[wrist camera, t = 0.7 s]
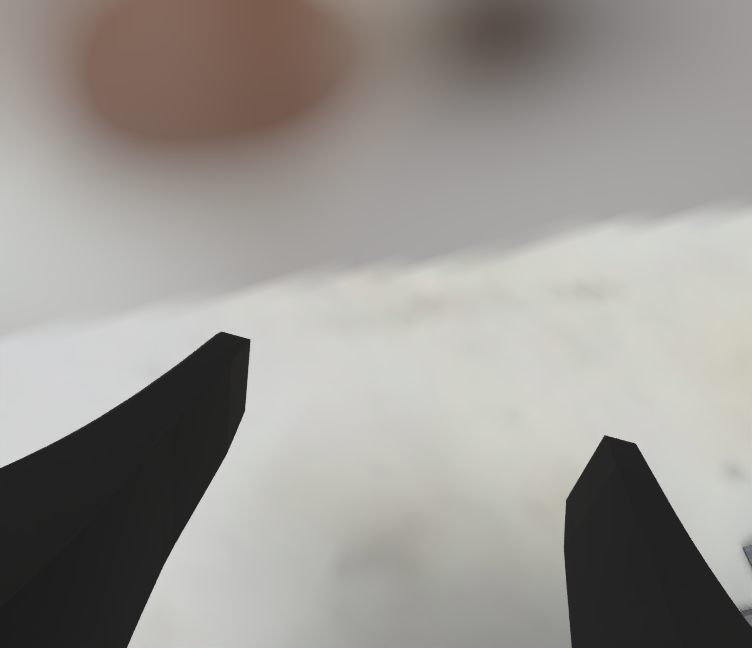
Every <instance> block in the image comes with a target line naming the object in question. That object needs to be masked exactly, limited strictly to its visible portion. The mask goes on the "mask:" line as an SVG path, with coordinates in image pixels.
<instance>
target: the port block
mask: <svg viewBox="0 0 752 648" xmlns="http://www.w3.org/2000/svg"><path fill="white" fill-rule="evenodd" d="M744 550H745V552H746V554H747V556H748V558H749V560H750V562H751V564H752V545H751V546H747V547H744Z"/></svg>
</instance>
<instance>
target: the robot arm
mask: <svg viewBox="0 0 752 648" xmlns="http://www.w3.org/2000/svg"><path fill="white" fill-rule="evenodd" d="M249 352H250V339H247V338H243V337H239V336H236V335H232V334H228V333H225V332H220V333H218V334H216V335H215V336H214V337H212V338H211V339H210V340H208V341H207V342H206V343H205V344H203V345H202V346H201V347H200V348H198V349H197V350H196V351H194V352H193V353H192V354H191V355H189V356H188V357H187V358H185V359H184V360H183V361H181V362H180V363H179V364H177V365H176V366H175V367H173V368H172V369H171V370H169V371H168V372H167V373H165V374H164V375H162V376H161V377H160V378H158V379H157V380H155V381H154V382H152V383H151V384H150V385H148V386H147V387H145V388H144V389H143V390H141V391H140V392H138V393H137V394H135V395H134V396H132V397H131V398H129V399H128V400H126V401H124V402H123V403H121V404H120V405H118V406H117V407H115V408H113V409H112V410H110V411H109V412H107V413H106V414H104V415H102V416H101V417H99V418H97V419H96V420H94V421H92V422H91V423H89V424H87V425H85V426H84V427H82V428H80V429H78V430H77V431H75V432H73V433H71V434H69V435H67V436H66V437H64V438H62V439H60V440H58V441H56V442H54V443H52V444H50V445H49V446H47V447H45V448H42V449H40V450H38V451H36V452H34V453H32V454H30V455H28V456H26V457H24V458H22V459H20V460H17V461H15V462H13V463H11V464H9V465H7V466H4V467H2V468H0V648H127V646H128V644H129V642H130V639H131V637H132V635H133V632H134V630H135V628H136V626H137V623H138V621H139V619H140V616H141V614H142V612H143V610H144V607H145V605H146V603H147V601H148V599H149V596H150V594H151V592H152V590H153V588H154V585H155V583H156V581H157V579H158V577H159V574H160V572H161V570H162V568H163V566H164V564H165V562H166V560H167V558H168V556H169V554H170V552H171V551H172V549H173V547H174V545H175V543H176V541H177V540H178V538H179V536H180V535H181V533H182V531H183V529H184V528H185V526H186V524H187V522H188V521H189V519H190V517H191V515H192V514H193V512H194V510H195V509H196V507H197V505H198V503H199V502H200V500H201V498H202V496H203V495H204V493H205V491H206V490H207V488H208V486H209V484H210V483H211V481H212V479H213V477H214V476H215V474H216V472H217V470H218V469H219V467H220V465H221V463H222V461H223V460H224V458H225V456H226V454H227V452H228V450H229V448H230V445H231V443H232V441H233V438H234V436H235V434H236V431H237V429H238V426H239V424H240V422H241V419H242V417H243V414H244V412H245V404H246V391H247V378H248V365H249ZM564 556H565V570H566V583H567V595H568V607H569V619H570V631H571V643H572V648H752V627H751V625H750V624H749V623H748V622H747V620H746V619H745V618H744V616H743V615H742V614H741V612H740V611H739V610H738V608H737V607H736V605H735V604H734V603H733V601H732V600H731V598H730V597H729V596H728V594H727V593H726V591H725V590H724V588H723V587H722V585H721V584H720V582H719V581H718V579H717V578H716V577H715V575H714V574H713V572H712V571H711V569H710V568H709V566H708V565H707V563H706V562H705V560H704V559H703V557H702V555H701V554H700V552H699V551H698V549H697V548H696V546H695V544H694V543H693V541H692V540H691V538H690V536H689V535H688V533H687V531H686V530H685V528H684V527H683V525H682V523H681V522H680V520H679V518H678V517H677V515H676V513H675V511H674V510H673V508H672V506H671V505H670V503H669V501H668V499H667V498H666V496H665V494H664V492H663V491H662V489H661V487H660V485H659V484H658V482H657V480H656V478H655V477H654V475H653V473H652V471H651V470H650V468H649V466H648V464H647V462H646V461H645V459H644V457H643V455H642V454H641V452H640V450H639V449H638V447H637V445H636V444H635V443H631V442H628V441H624V440H620V439H617V438H613V437H609V436H606V435H605V436H604V437H603V439H602V441H601V442H600V444H599V446H598V447H597V449H596V451H595V452H594V454H593V456H592V457H591V459H590V461H589V462H588V464H587V466H586V468H585V469H584V471H583V473H582V474H581V476H580V478H579V479H578V481H577V483H576V484H575V486H574V488H573V489H572V491H571V493H570V494H569V496H568V498H567V500H566V515H565V534H564Z"/></svg>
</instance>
